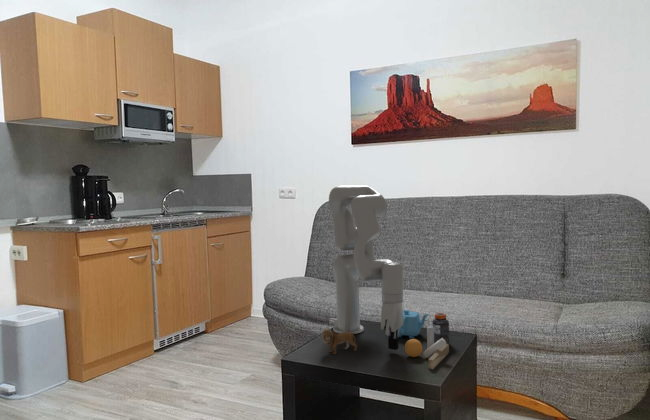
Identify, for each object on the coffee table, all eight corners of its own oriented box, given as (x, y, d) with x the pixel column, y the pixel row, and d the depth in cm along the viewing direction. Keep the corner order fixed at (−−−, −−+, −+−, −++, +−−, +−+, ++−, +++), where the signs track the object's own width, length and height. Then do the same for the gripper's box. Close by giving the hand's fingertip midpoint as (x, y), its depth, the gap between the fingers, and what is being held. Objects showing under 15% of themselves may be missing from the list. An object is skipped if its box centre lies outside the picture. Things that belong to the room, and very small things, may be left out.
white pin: (421, 352, 162) (440, 338, 159) (424, 351, 164) (442, 337, 161) (426, 358, 161) (445, 344, 158) (428, 357, 163) (447, 343, 160)
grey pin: (426, 351, 169) (426, 327, 169) (428, 349, 171) (428, 325, 171) (433, 352, 168) (432, 328, 168) (435, 350, 170) (434, 326, 170)
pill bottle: (448, 341, 179) (447, 311, 179) (450, 346, 173) (450, 315, 173) (431, 341, 180) (431, 311, 180) (433, 346, 174) (433, 315, 174)
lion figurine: (326, 357, 165) (325, 332, 165) (319, 353, 170) (318, 328, 170) (361, 349, 172) (361, 325, 172) (354, 345, 177) (353, 322, 177)
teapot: (380, 337, 186) (380, 312, 185) (390, 328, 199) (389, 304, 198) (427, 342, 179) (426, 316, 178) (433, 332, 192) (433, 307, 191)
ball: (418, 344, 159) (418, 361, 160) (425, 338, 164) (424, 355, 165) (402, 340, 163) (401, 357, 163) (409, 335, 168) (408, 351, 168)
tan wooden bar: (428, 368, 152) (428, 359, 152) (444, 351, 168) (444, 343, 168) (433, 369, 152) (432, 360, 152) (449, 352, 167) (448, 344, 167)
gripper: (390, 292, 176) (391, 341, 176) (373, 300, 163) (375, 353, 164) (410, 294, 172) (410, 344, 173) (394, 303, 159) (395, 357, 160)
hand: (393, 348), depth 168 cm, fingers closed
